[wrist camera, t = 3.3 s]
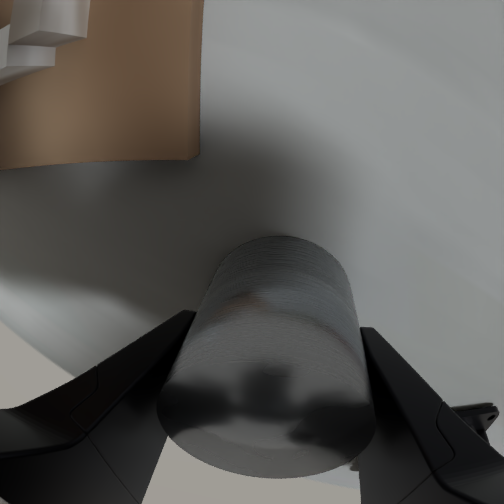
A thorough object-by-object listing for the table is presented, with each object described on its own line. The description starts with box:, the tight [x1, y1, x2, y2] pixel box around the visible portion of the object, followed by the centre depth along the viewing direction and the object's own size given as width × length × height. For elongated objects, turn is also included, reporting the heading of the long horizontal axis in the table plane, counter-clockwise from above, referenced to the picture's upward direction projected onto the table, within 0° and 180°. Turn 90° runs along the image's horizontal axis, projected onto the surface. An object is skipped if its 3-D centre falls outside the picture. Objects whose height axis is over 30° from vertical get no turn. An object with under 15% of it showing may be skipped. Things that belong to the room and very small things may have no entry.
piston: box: [156, 236, 376, 479], centre depth 8 cm, size 4×4×5 cm
